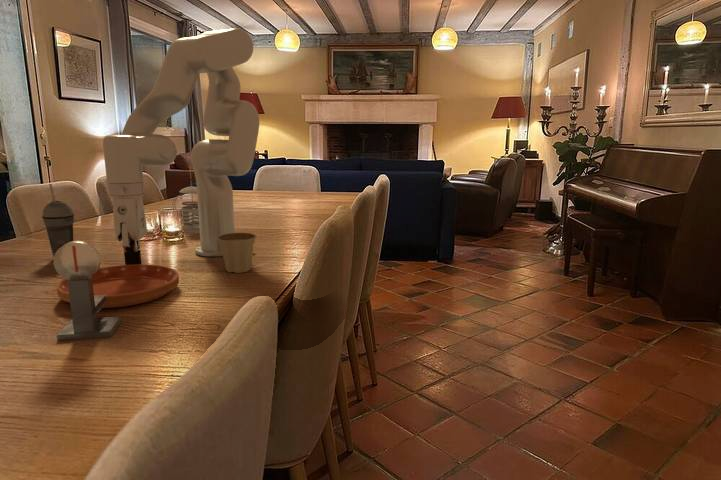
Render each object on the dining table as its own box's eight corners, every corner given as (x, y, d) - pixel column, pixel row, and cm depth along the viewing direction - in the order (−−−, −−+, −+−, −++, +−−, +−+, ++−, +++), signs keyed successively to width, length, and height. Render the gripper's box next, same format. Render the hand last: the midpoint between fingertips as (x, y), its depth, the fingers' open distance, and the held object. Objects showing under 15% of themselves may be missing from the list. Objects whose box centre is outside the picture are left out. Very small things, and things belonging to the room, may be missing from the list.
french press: (203, 233, 161) (198, 158, 156) (169, 232, 162) (163, 158, 156) (212, 227, 171) (208, 157, 166) (180, 227, 171) (175, 157, 166)
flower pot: (238, 277, 112) (236, 242, 110) (210, 271, 117) (208, 237, 115) (265, 268, 120) (264, 235, 118) (239, 263, 125) (237, 230, 123)
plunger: (107, 301, 89) (106, 295, 89) (97, 313, 84) (96, 306, 83) (100, 302, 89) (99, 296, 89) (90, 313, 83) (89, 307, 83)
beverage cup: (64, 262, 123) (54, 185, 119) (41, 261, 125) (30, 185, 120) (85, 255, 130) (77, 183, 126) (63, 254, 132) (53, 182, 127)
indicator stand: (123, 318, 87) (114, 232, 84) (110, 336, 79) (100, 242, 76) (75, 321, 85) (63, 233, 82) (57, 340, 78) (44, 244, 74)
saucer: (143, 272, 116) (142, 258, 115) (201, 291, 103) (200, 274, 102) (38, 297, 98) (36, 280, 97) (93, 323, 85) (90, 304, 84)
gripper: (136, 193, 102) (143, 275, 106) (150, 186, 116) (156, 258, 120) (98, 194, 101) (107, 277, 105) (117, 186, 115) (124, 260, 119)
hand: (133, 267), depth 112 cm, fingers closed
